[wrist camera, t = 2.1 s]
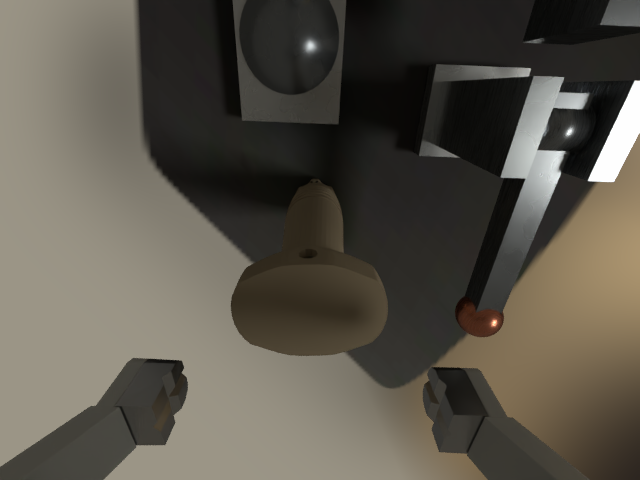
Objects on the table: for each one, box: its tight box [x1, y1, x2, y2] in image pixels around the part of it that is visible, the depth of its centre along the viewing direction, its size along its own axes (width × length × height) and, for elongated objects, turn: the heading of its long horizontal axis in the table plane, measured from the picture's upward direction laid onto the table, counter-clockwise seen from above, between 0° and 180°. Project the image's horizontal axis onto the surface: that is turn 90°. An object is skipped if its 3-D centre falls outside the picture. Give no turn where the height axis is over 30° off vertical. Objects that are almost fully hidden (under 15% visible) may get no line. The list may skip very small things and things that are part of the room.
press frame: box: [233, 0, 640, 182], centre depth 16 cm, size 12×20×11 cm, turn 88°
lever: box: [455, 0, 640, 337], centre depth 15 cm, size 22×3×4 cm, turn 178°
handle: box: [231, 179, 388, 356], centre depth 19 cm, size 5×6×15 cm
